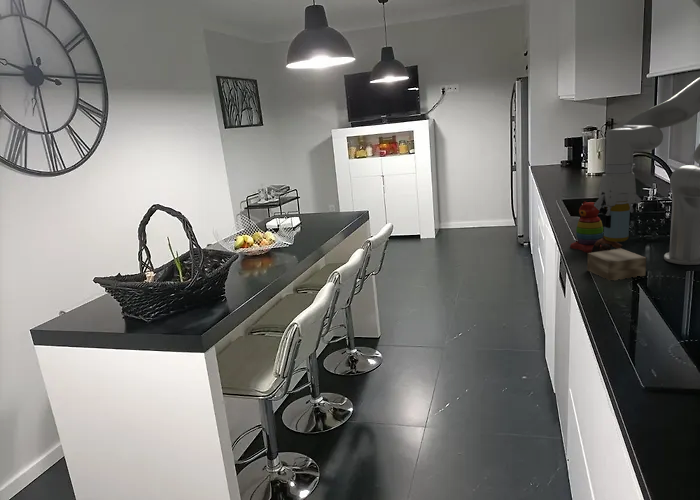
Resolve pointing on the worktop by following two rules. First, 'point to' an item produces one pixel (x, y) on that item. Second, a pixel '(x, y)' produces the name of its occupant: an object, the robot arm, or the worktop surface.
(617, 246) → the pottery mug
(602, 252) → the chopping block
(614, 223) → the bottle
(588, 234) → the stacking bear
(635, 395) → the worktop surface
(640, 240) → the worktop surface
